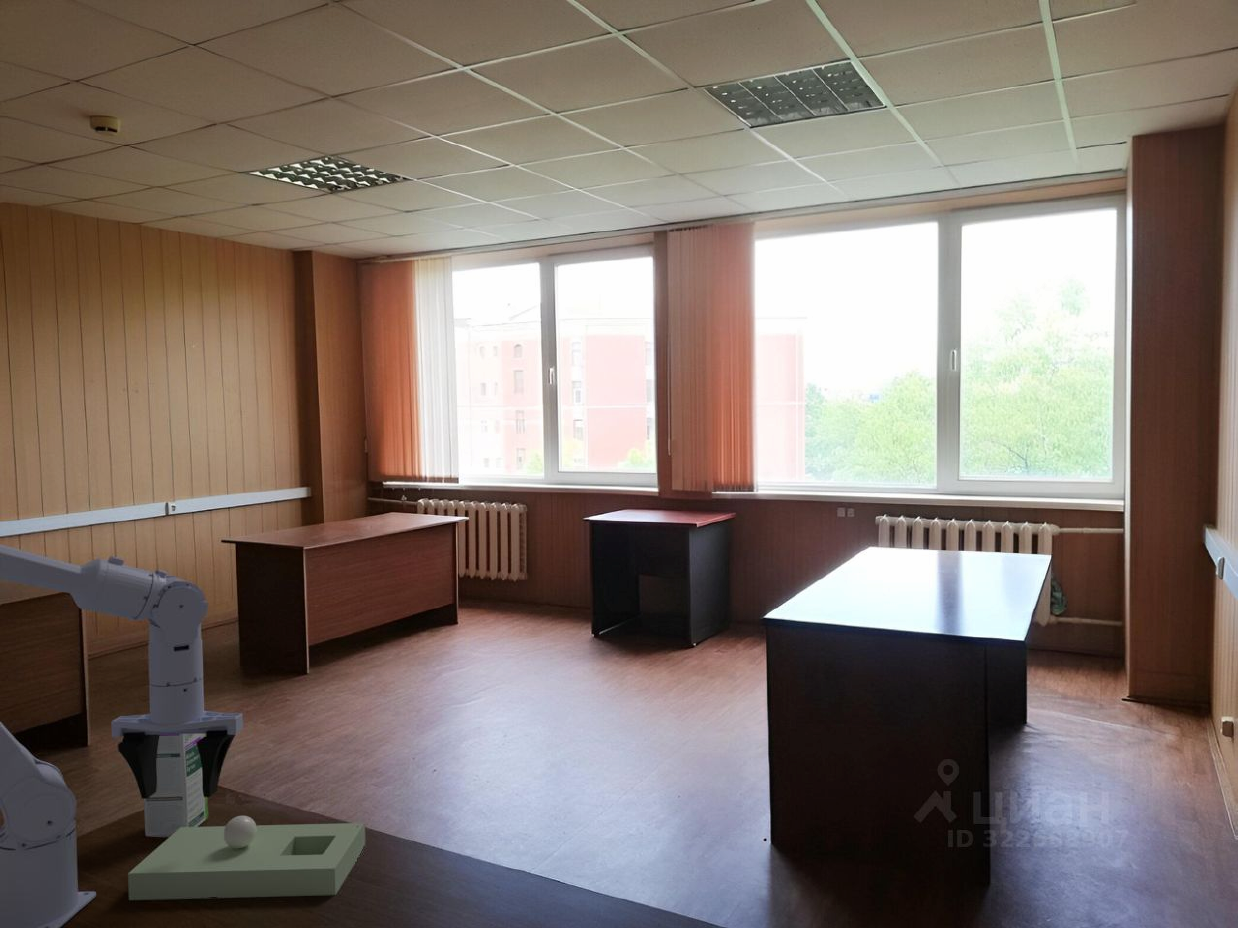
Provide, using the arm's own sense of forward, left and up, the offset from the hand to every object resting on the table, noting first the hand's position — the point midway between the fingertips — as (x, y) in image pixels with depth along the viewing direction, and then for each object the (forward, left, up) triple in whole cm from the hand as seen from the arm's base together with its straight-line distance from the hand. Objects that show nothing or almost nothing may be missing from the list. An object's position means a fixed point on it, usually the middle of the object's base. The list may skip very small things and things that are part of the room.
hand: (179, 794), depth 104 cm
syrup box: (-7, +13, -10) cm, 18 cm away
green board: (+9, 0, -9) cm, 13 cm away
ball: (+7, 0, -5) cm, 8 cm away
